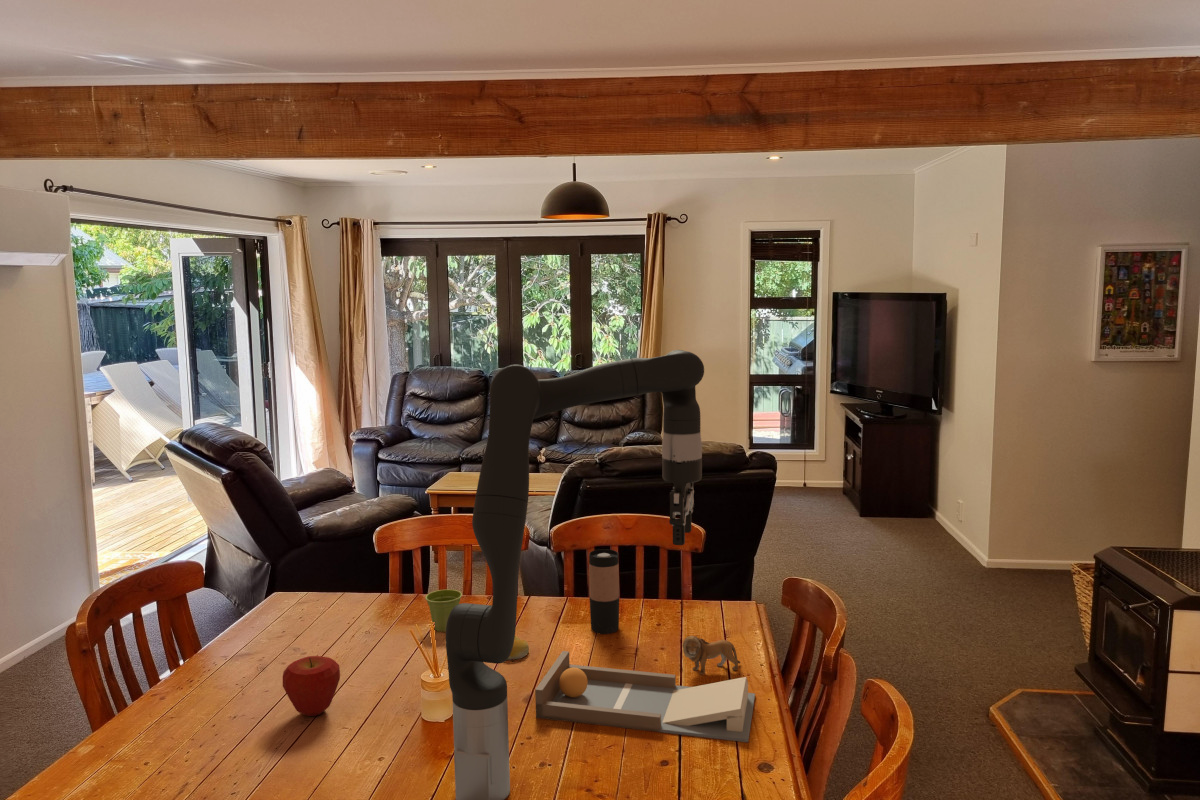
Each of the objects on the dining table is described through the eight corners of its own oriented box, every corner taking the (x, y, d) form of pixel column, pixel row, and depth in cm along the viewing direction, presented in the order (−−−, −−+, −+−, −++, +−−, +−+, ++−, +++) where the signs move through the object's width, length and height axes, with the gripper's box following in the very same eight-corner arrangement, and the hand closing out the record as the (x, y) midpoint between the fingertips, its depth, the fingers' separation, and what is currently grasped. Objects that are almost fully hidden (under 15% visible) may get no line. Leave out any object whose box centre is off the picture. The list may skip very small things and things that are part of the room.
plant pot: (419, 632, 211) (418, 600, 210) (437, 619, 220) (436, 587, 219) (452, 636, 209) (451, 603, 208) (469, 622, 218) (468, 590, 217)
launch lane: (754, 699, 175) (755, 669, 174) (748, 746, 156) (748, 712, 156) (563, 679, 185) (562, 650, 184) (536, 721, 167) (535, 689, 166)
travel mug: (585, 626, 214) (583, 551, 211) (611, 621, 217) (610, 547, 215) (597, 636, 207) (596, 559, 205) (624, 631, 210) (623, 555, 208)
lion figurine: (689, 681, 182) (689, 642, 181) (677, 671, 187) (677, 633, 186) (746, 669, 188) (746, 631, 186) (733, 659, 192) (733, 623, 191)
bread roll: (508, 664, 192) (507, 648, 192) (487, 652, 199) (486, 636, 199) (536, 654, 198) (536, 638, 197) (515, 643, 204) (514, 627, 204)
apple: (282, 730, 163) (278, 672, 162) (287, 705, 174) (284, 650, 172) (340, 722, 166) (337, 665, 165) (342, 697, 177) (339, 643, 175)
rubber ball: (552, 676, 172) (579, 673, 170) (561, 664, 178) (587, 661, 176) (559, 703, 172) (586, 701, 171) (567, 690, 178) (593, 687, 177)
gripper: (668, 448, 164) (669, 527, 166) (655, 461, 151) (656, 547, 152) (706, 449, 162) (706, 529, 164) (696, 463, 149) (696, 550, 151)
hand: (682, 538), depth 158 cm, fingers open, 8 cm apart
